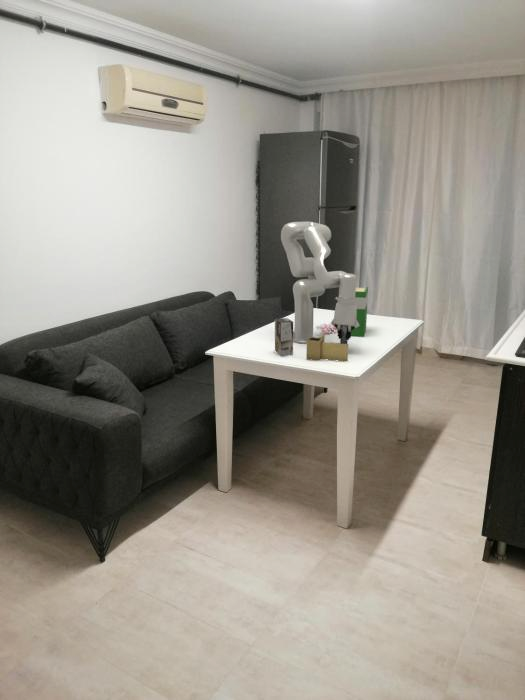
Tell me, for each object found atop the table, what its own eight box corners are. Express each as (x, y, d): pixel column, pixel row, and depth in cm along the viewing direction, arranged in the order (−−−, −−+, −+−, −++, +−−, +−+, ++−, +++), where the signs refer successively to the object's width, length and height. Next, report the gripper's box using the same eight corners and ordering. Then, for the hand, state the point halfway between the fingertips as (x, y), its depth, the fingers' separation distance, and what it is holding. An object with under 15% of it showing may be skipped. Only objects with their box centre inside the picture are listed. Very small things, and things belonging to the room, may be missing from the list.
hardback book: (352, 328, 307) (354, 286, 301) (366, 329, 306) (368, 286, 299) (349, 336, 291) (351, 291, 284) (363, 337, 289) (365, 292, 283)
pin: (339, 347, 260) (341, 316, 255) (340, 345, 263) (342, 315, 258) (346, 348, 259) (348, 317, 254) (347, 346, 262) (349, 315, 257)
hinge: (306, 359, 250) (306, 340, 248) (317, 349, 266) (317, 331, 264) (345, 363, 244) (346, 343, 241) (354, 352, 260) (354, 334, 258)
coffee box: (293, 355, 257) (293, 321, 252) (280, 356, 255) (280, 322, 251) (287, 350, 265) (287, 317, 261) (274, 351, 263) (274, 318, 259)
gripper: (327, 300, 254) (325, 338, 259) (362, 304, 248) (359, 342, 254) (331, 297, 260) (328, 334, 266) (365, 300, 255) (362, 338, 260)
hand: (344, 338), depth 260 cm, fingers closed on pin, 3 cm apart
